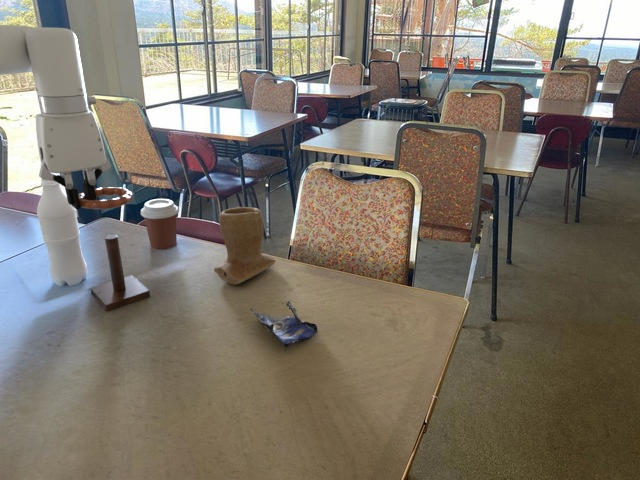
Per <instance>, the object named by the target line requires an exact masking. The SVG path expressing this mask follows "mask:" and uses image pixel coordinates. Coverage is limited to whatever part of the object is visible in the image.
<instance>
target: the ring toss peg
mask: <svg viewBox="0 0 640 480" xmlns="http://www.w3.org/2000/svg"><path fill="white" fill-rule="evenodd" d="M104 242H105V248H106V255H107V260H108V266H109V272H110V278H111V281H109V282H104V283H101V284H98V285H95V286H92V287H90V288H89V291H90V294H91V295H92V296H93V298H94V299H95V300H96V301H97V302H98V303H99V304H100V306H102V308H103V309H104V310H105V311H106V312H110V311H113V310H115V309H118V308H122V307H124V306H127V305H130V304H133V303H136V302H139V301H142V300H145V299H148V298H151V292H150V290H149V289H148V288H147V287H146V286H145V285H144V284H143V283H142V282H140V280H139V279H137V278H136V277H135V276H134V275H133V274H131V275H127V276H125V275H124V274H125V273H124V268H123V262H122V255H121V250H120V243H119V237H118V235H117V234H108V235H105V236H104Z"/></svg>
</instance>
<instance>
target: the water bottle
mask: <svg viewBox="0 0 640 480" xmlns="http://www.w3.org/2000/svg"><path fill="white" fill-rule="evenodd" d="M50 173H51V172H50ZM54 174H58V173H54ZM40 179H41V180H40V182H41V183H40V186H42V193H41V195H40V198H39V201H38V204H37V208H36V216H37V218H38V222H39V227H40V230H41V236H42V240H43V241H44V244H45V247H46V250H47V254H48V259H49V274H50V277H51V279H52V281H53V282H54V284H55V285H56V286H59V287H63V286H65V285H68V286H69V287H70V286H71V287H72V286H75V285H79V284H80V283H81V282H82V281H84V280H86V279H87V276H88V266H87V265H88V264H87V262H86V260H85V257H84V255H83V251H82V247H81V239H80V238H81V231H80V227H79V221H78V217H77V209H75V208H74V207H73V206H72V205H70V204H69V203H68V200H67V195H66V192H65V191H64V190H63V188H62V185H61V184H59V183H58V182H56V181H50V180H44V179H42V178H41V177H40Z"/></svg>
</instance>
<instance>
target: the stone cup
mask: <svg viewBox="0 0 640 480" xmlns="http://www.w3.org/2000/svg"><path fill="white" fill-rule="evenodd" d="M218 218H219V221H218V222H219V223H218V225H219V231H220V234H221V236H222V239H223V242H224V246H225V248H226V253H227V257H226V260H224V261H223V262H222V263H221V264H218V265H217V266H216V267H214V268H213V271H214V272H215V273H216V274H217V275H218V277H219V278H220V279H222V280H223V281H224V282H226V283H227V284H230V285H240V284H242V283H243V282H245V281H247V280H249V279H251V278H253V277H255V276H257V275H259V274H260V273H262V272H264V271H265V270H267V269H269V268H270V267H272V266H273V265H274V264H276V258H274V257H273V256H271V255H268V254H266V253H263V252H262V251H261V249H262V241H263V238H264V232H265V231H264V229H265V227H264V218H263V214H262V211H261V210H260V209H259V208H257V207H251V206H237V207H232V208H227V209H225V210H222V211H221V212H220V214H219V217H218Z"/></svg>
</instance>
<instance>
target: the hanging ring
mask: <svg viewBox="0 0 640 480" xmlns="http://www.w3.org/2000/svg"><path fill="white" fill-rule="evenodd" d="M95 193H96V198H98V197H107V196H117V197H115V198H111V199H99V200H98V199H96V200H94V201H93V200H86V199H85V197H84V191H83V192H80V193H78V196H79V201H80V206H81V208H83V209H88V210H89V209H90V210H109V209H114V208H118V207H119V208H120V207H122V206H125V205H127V204H129V203H130V202H132V199H133V197H134V193H133V192H132V191H130V190H129V189H127V188H123V187H116V186H113V187H111V186H109V187H107V186H106V187H98V188H97V187H96V188H95Z"/></svg>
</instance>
